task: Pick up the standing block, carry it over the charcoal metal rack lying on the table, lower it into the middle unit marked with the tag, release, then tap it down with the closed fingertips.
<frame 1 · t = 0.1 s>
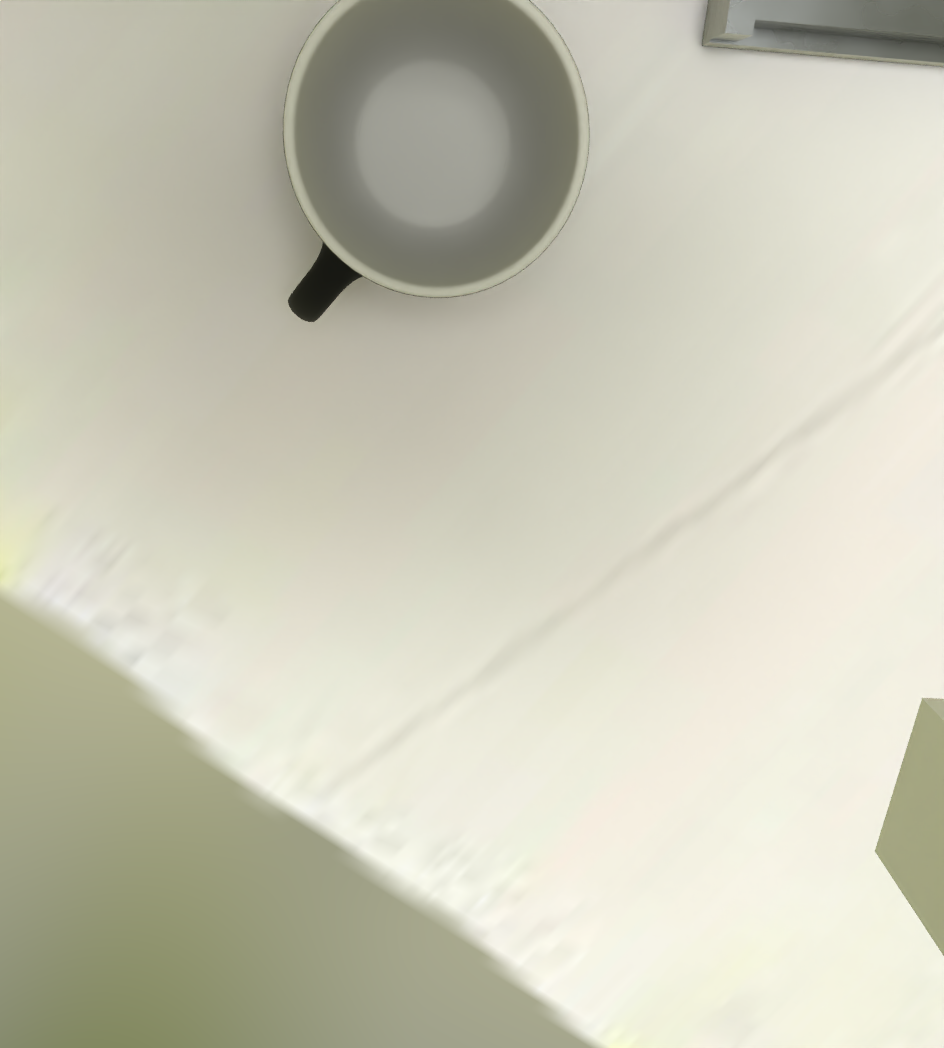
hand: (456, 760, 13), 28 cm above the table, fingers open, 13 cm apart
mug: (408, 177, 36), on the table
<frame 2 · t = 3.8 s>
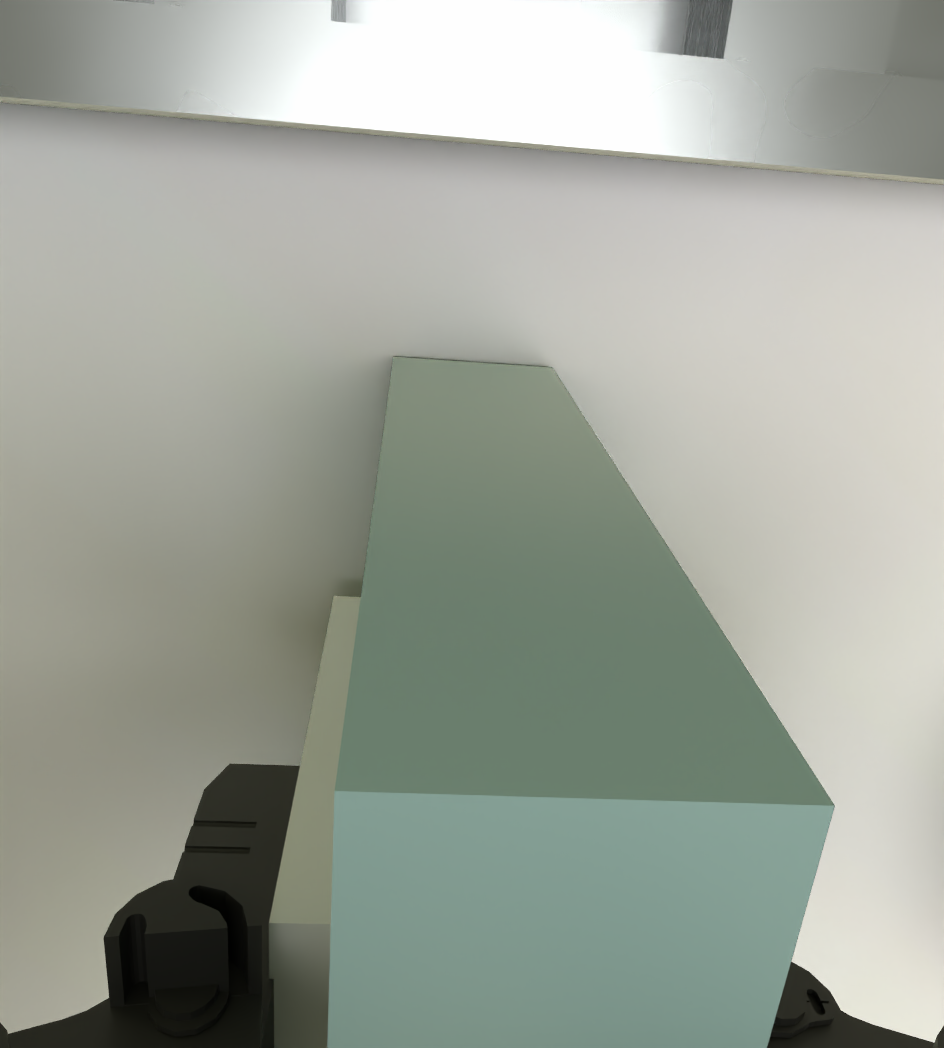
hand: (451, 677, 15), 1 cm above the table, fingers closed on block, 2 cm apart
block: (450, 652, 15), on the table, touching gripper
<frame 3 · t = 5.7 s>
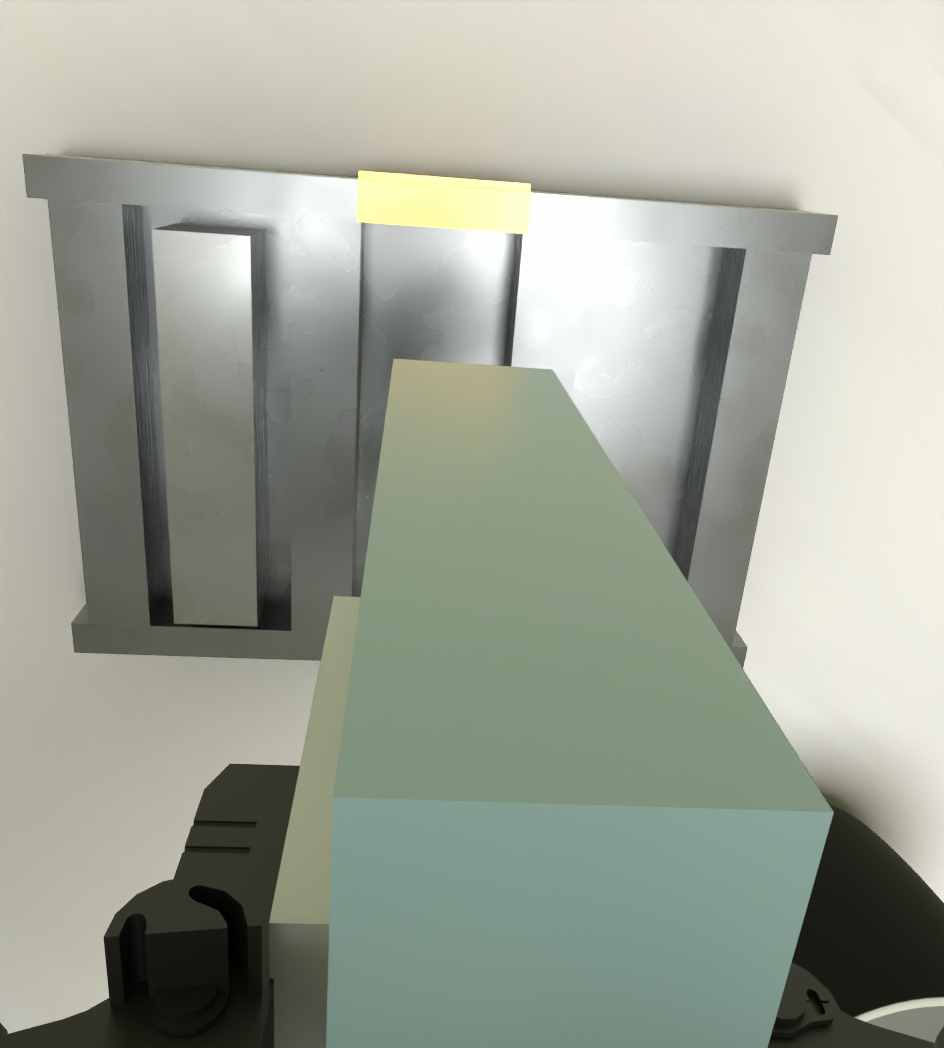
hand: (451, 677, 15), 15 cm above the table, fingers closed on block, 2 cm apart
mug: (802, 875, 36), on the table
rack: (428, 422, 28), on the table
block: (450, 654, 15), point 14 cm above the table, touching gripper
when the fingers open (4 cm above the table, at t = 7.8 s): block drops 2 cm, resting on rack.
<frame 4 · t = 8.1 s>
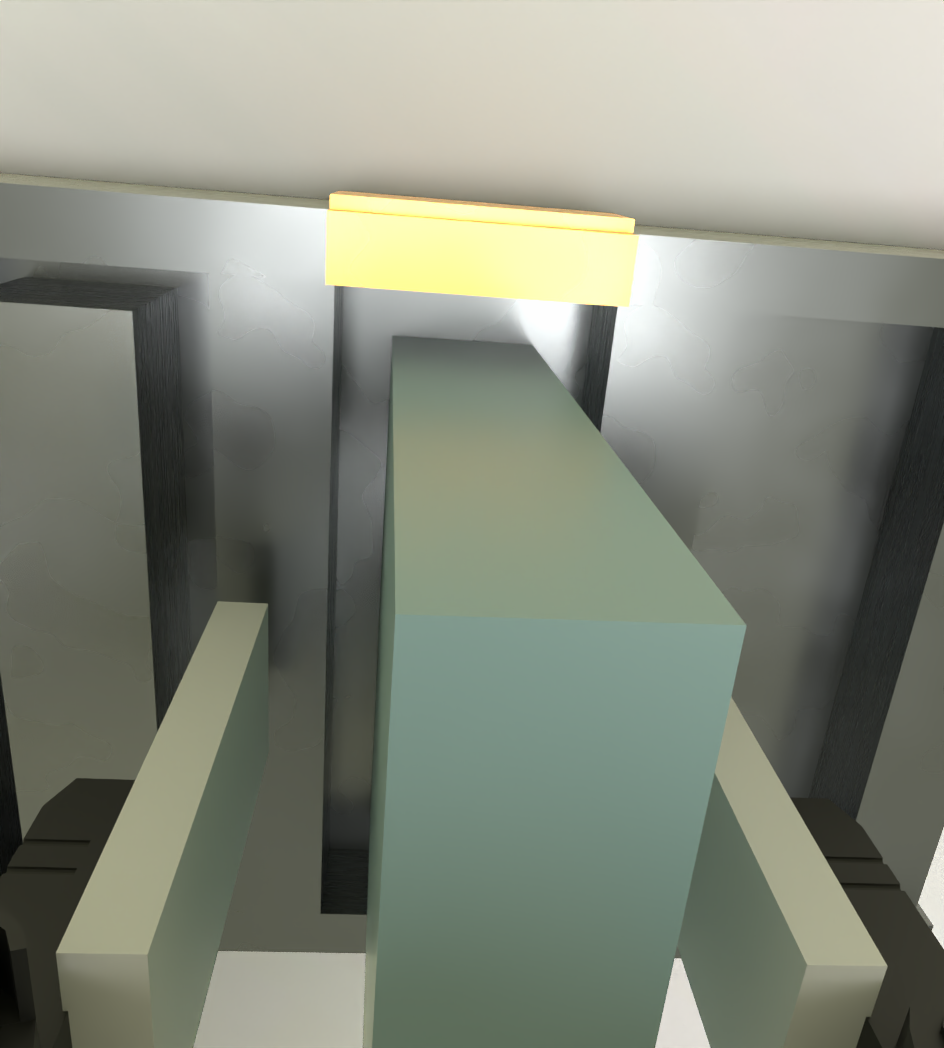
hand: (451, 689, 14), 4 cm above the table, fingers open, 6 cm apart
rack: (445, 579, 18), on the table
block: (443, 603, 17), point 1 cm above the table, touching rack
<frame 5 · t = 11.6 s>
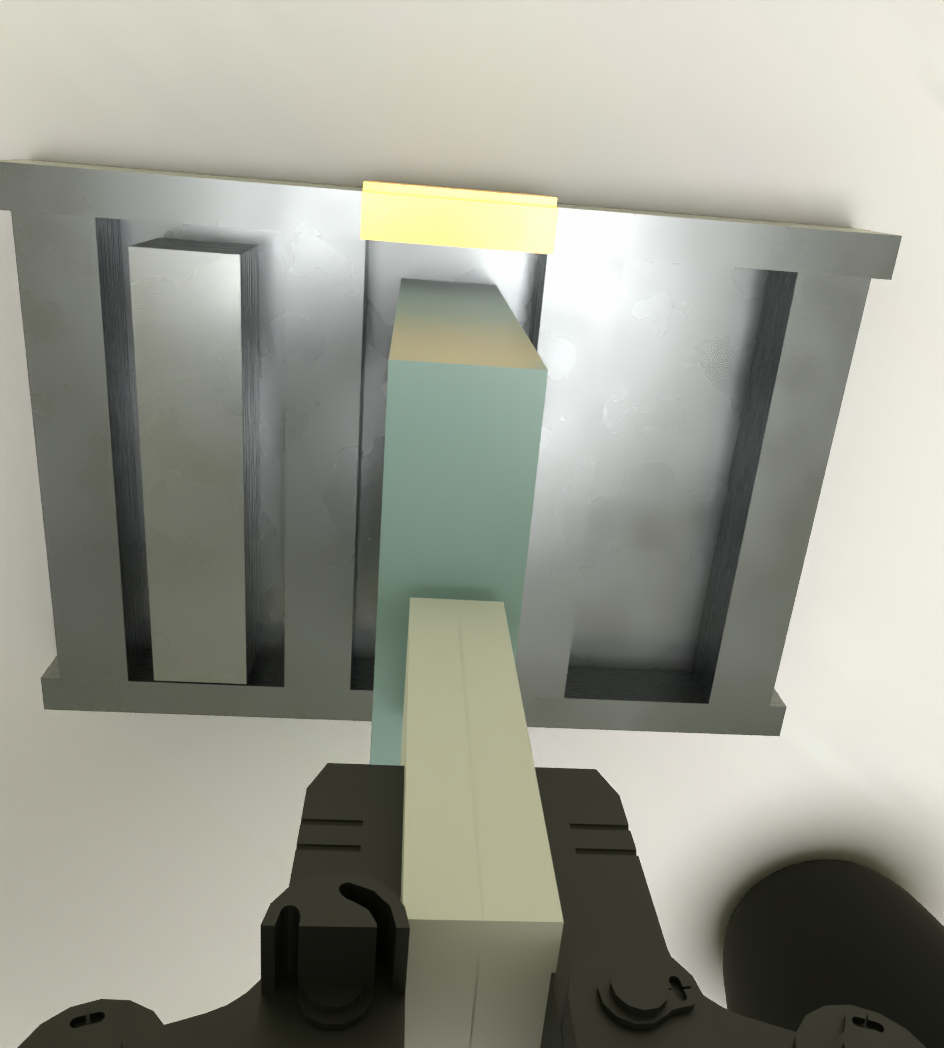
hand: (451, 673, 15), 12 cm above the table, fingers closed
mug: (833, 940, 34), on the table
rack: (438, 457, 25), on the table
block: (436, 469, 25), point 1 cm above the table, touching rack
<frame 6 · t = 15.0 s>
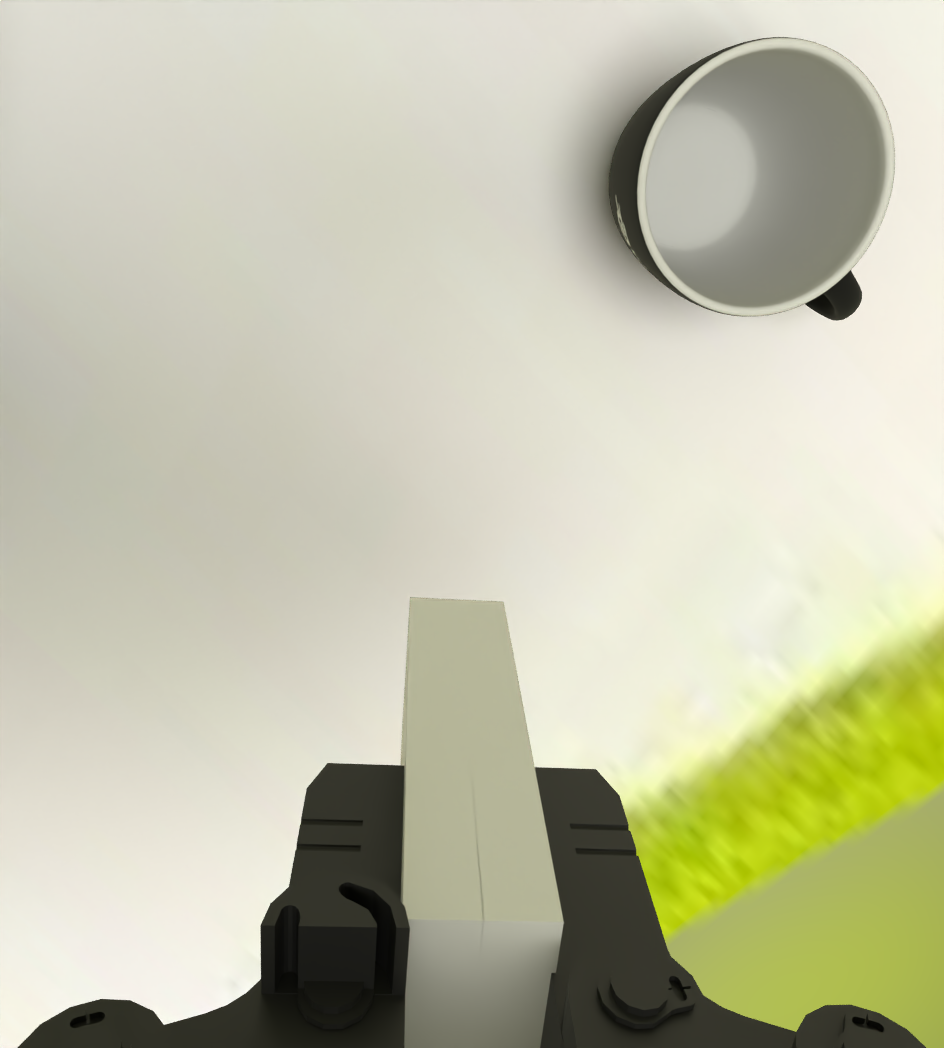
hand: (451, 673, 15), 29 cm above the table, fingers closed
mug: (706, 202, 41), on the table
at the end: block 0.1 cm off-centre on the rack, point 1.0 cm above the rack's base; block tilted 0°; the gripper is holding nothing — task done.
